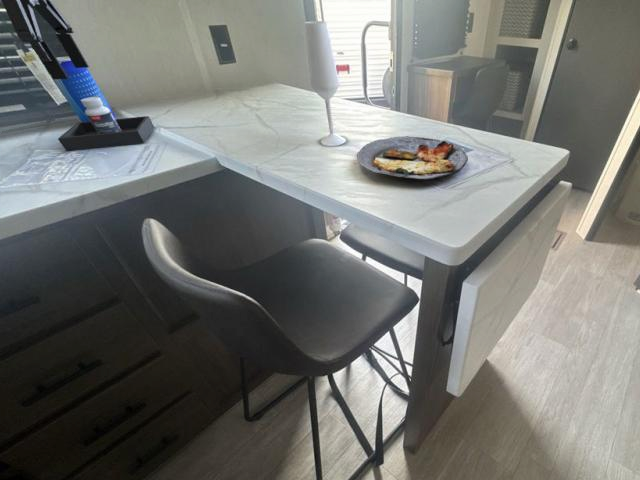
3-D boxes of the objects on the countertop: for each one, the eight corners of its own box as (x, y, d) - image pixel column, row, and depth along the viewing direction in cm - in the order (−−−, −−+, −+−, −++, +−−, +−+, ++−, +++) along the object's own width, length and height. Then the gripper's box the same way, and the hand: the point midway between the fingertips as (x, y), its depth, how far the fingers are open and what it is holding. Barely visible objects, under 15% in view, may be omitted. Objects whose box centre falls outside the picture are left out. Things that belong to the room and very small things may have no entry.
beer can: (105, 119, 98) (66, 55, 86) (125, 122, 96) (88, 56, 84) (78, 128, 92) (32, 60, 81) (99, 130, 90) (55, 62, 79)
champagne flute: (324, 136, 87) (305, 20, 69) (348, 137, 86) (335, 20, 69) (317, 145, 82) (295, 23, 65) (342, 146, 81) (327, 23, 64)
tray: (66, 151, 80) (57, 138, 77) (85, 133, 89) (77, 122, 86) (144, 143, 83) (137, 130, 81) (154, 127, 92) (148, 115, 90)
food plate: (472, 151, 79) (474, 136, 76) (457, 194, 63) (459, 177, 61) (378, 141, 84) (378, 127, 81) (343, 178, 68) (341, 162, 66)
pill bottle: (101, 141, 83) (77, 102, 77) (100, 135, 86) (76, 98, 80) (125, 137, 85) (102, 99, 79) (123, 131, 88) (101, 95, 82)
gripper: (-22, -67, 53) (71, 83, 68) (42, -56, 69) (106, 62, 85) (-80, -69, 51) (29, 85, 66) (0, -58, 68) (73, 64, 83)
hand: (72, 73), depth 75 cm, fingers open, 13 cm apart
